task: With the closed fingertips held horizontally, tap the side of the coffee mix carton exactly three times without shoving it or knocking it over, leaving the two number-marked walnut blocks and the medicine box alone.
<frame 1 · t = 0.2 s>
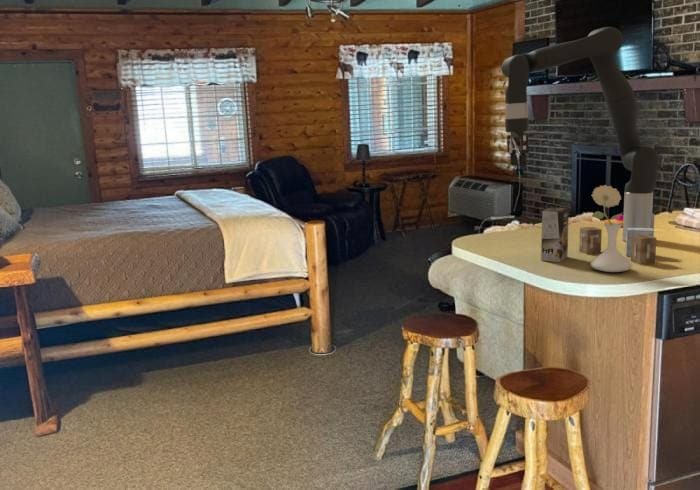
hand: (518, 166, 226), 28 cm above the worktop, tool pointing down, fingers open, 8 cm apart
walnut block seven: (589, 252, 222), on the worktop
coffee box: (554, 259, 214), on the worktop
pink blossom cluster: (618, 226, 268), on the worktop
flower in vase: (608, 270, 197), on the worktop
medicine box: (638, 256, 215), on the worktop
walnut block one: (642, 262, 205), on the worktop
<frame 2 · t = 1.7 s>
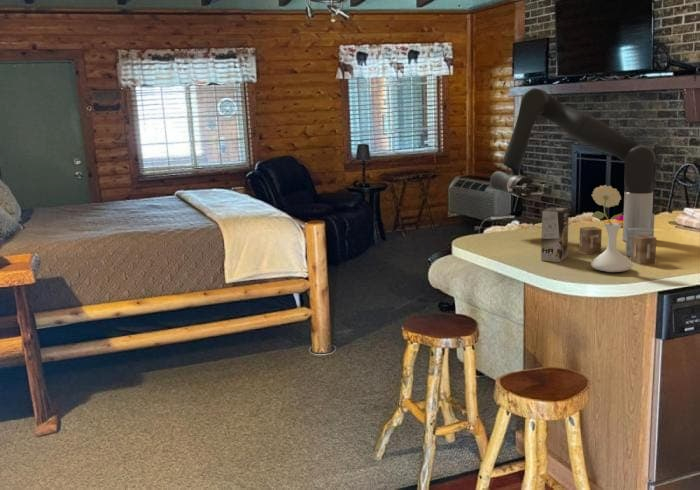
hand: (539, 191, 222), 20 cm above the worktop, tool horizontal, fingers open, 6 cm apart
nothing on the worktop moved.
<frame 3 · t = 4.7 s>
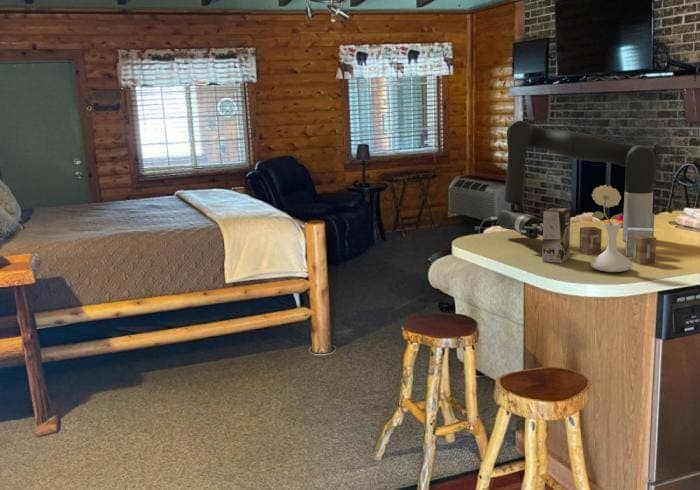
hand: (549, 234, 217), 7 cm above the worktop, tool horizontal, fingers closed
coffee box: (555, 260, 213), on the worktop, touching gripper
everything else where it was.
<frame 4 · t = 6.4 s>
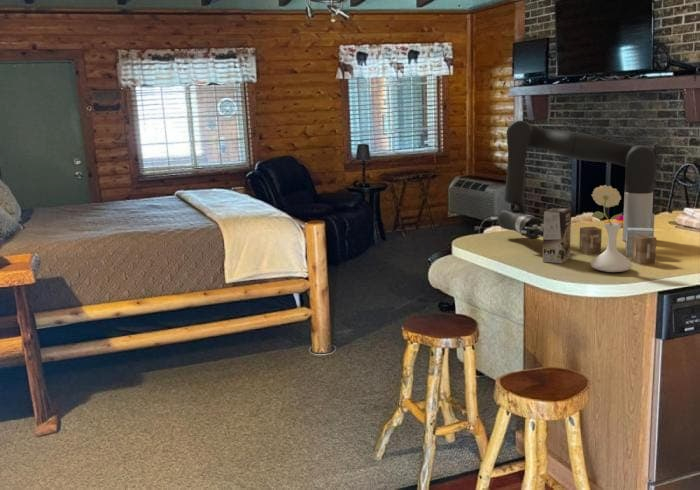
hand: (550, 235, 216), 7 cm above the worktop, tool horizontal, fingers closed
nothing on the worktop moved.
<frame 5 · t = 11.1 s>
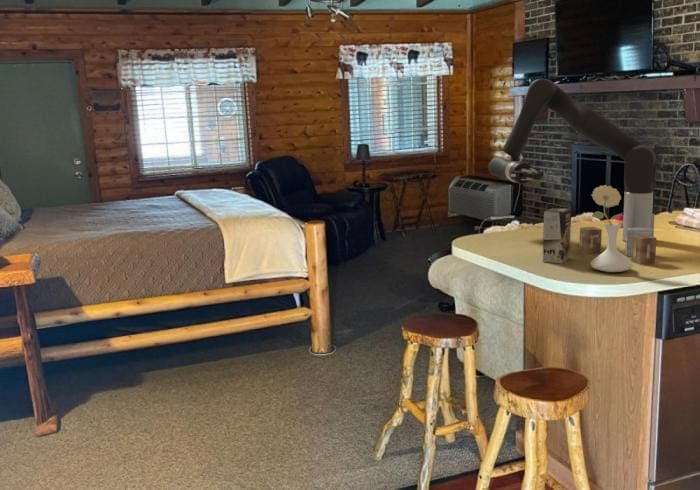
hand: (538, 176, 223), 25 cm above the worktop, tool horizontal, fingers closed
coffee box: (556, 260, 213), on the worktop
everything else where it was.
at the end: coffee box moved 1.7 cm from its start; coffee box tilted 0°; the gripper is holding nothing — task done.
